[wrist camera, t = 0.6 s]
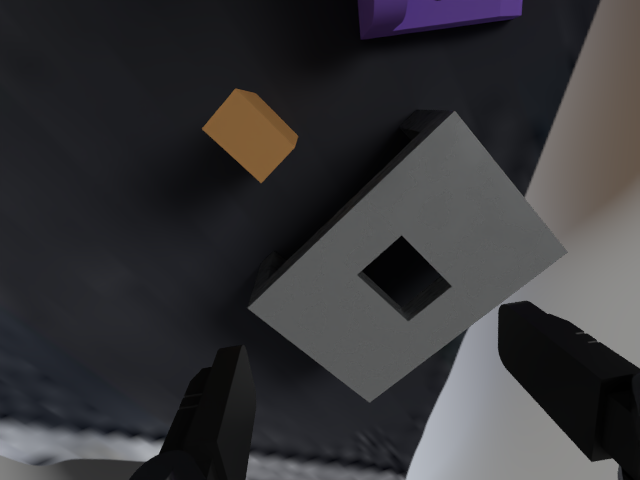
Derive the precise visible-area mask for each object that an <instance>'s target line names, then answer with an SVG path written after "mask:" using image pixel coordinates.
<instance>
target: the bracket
mask: <svg viewBox="0 0 640 480" xmlns="http://www.w3.org/2000/svg"><path fill="white" fill-rule="evenodd" d="M358 11H359V25H360V39H361V40H364V39H371V38H378V37H386V36H393V35H400V34H407V33H415V32H422V31H429V30H437V29H444V28H451V27H459V26H466V25H473V24H481V23H488V22H495V21H503V20H510V19H514V18H516V17H518V16H521V13H522V0H440V1H436V0H358Z"/></svg>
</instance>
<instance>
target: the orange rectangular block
mask: <svg viewBox="0 0 640 480" xmlns="http://www.w3.org/2000/svg"><path fill="white" fill-rule="evenodd" d="M202 129H203V130H204V131H205V132H206V133H207V134H208V135H209V136H210V137H211V138H212V139H213V140H215V141H216V142H217V143H218V144H219V145H220V146H221V147H222V148H223V149H224V150H225V151H227V152H228V153H229V154H230V155H231V156H232V157H233V158H234V159H235V160H236V161H237V162H239V163H240V164H241V165H242V166H243V167H244V168H245V169H246V170H247V171H248V172H249V173H251V174H252V175H253V176H254V177H255V178H256V179H257V180H258V181H259V182H260V183H262V182H263V181H264V180H265V179H266V178H267V176H268V175H269V174H270V173H271V172H272V171H273V170H274V169H275V168H276V167H277V166H278V165H279V164H280V163H281V162H282V160H283V159H284V158H285V157H286V156H287V155H288V154H289V153H290V152H291V151H292V150H293V149H294V148H295V145H296V142H297V139H298V135H297V134H296V133H295V132H294V131H293V130H292V129H291V128H290V127H289V126H288V125H287V124H286V123H285V122H284V121H283V120H282V119H281V118H280V117H279V116H278V115H277V114H276V113H275V112H274V111H273V110H272V109H271V108H270V107H269V106H268V105H267V104H266V103H265V102H264V101H263V100H262V99H261V98H260V97H259V96H258V95H257V94H256V93H252V92H248V91H244V90H240V89H235V90H234V91H233V92H232V94H231V95H230V96H229V97H228V98H227V99H226V101H225V102H224V103H223V104H222V105H221V107H220V108H219V109H218V110H217V111H216V113H215V114H214V115H213V116H212V117H211V119H210V120H209V121H208V122H207V123H206V125H205V126H204V127H203V128H202Z"/></svg>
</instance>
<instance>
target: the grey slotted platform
mask: <svg viewBox="0 0 640 480" xmlns="http://www.w3.org/2000/svg"><path fill="white" fill-rule="evenodd" d="M400 128H401V130H402V131H403V132H404V133H405V134H406V135H407V136H408V138H409V139H410V140H411V142H410V143H409V144H408V145H407V146H406V147H405V148H404V149H403V150H401V151H400V152H399V153H398V154H397V155H396V156H395V157H394V158H393V159H392V160H391V161H390V162H389V163H388V164H387V165H386V166H385V167H384V168H383V169H382V170H381V171H380V172H379V173H378V174H377V175H376V176H374V177H373V178H372V179H371V180H370V181H369V182H368V183H367V184H366V185H365V186H364V187H363V188H362V189H361V190H360V191H359V192H358V193H357V194H356V195H355V196H354V197H353V198H352V199H351V200H350V201H348V202H347V203H346V204H345V205H344V206H343V207H342V208H341V209H340V210H339V211H338V212H337V213H336V214H335V215H334V216H333V217H332V218H331V219H330V220H329V221H328V222H327V223H326V224H325V225H324V226H323V227H321V228H320V229H319V230H318V231H317V232H316V233H315V234H314V235H313V236H312V237H311V238H310V239H309V240H308V241H307V242H306V243H305V244H304V245H303V246H302V247H301V248H300V249H299V250H298V251H297V252H295V253H294V254H293V255H292V256H291V257H290V258H289V259H288V260H287V261H286V260H285V259H284V258H283V257H281V256H280V255H279V254H278V253H277V252H276V251H273V252H272V253H271V254H270V255H269V256H268V257H267V258H266V259H265V260H264V261H263V262H262V263H261V264H260V268H259V271H258V274H257V278H256V281H255V284H254V288H253V291H252V295H251V298H250V301H249V305H248V309H249V310H250V311H252V312H253V313H254V314H256V315H257V316H258V317H259V318H261V319H262V320H263V321H265V322H266V323H267V324H268V325H270V326H271V327H272V328H274V329H275V330H276V331H278V332H279V333H280V334H281V335H283V336H284V337H285V338H287V339H288V340H289V341H290V342H292V343H293V344H294V345H296V346H297V347H298V348H300V349H301V350H302V351H303V352H305V353H306V354H307V355H309V356H310V357H311V358H312V359H314V360H315V361H316V362H318V363H319V364H320V365H322V366H323V367H324V368H325V369H327V370H328V371H329V372H331V373H332V374H333V375H334V376H336V377H337V378H338V379H340V380H341V381H342V382H344V383H345V384H346V385H347V386H349V387H350V388H351V389H353V390H354V391H355V392H356V393H358V394H359V395H360V396H362V397H363V398H364V399H366V400H367V401H368V402H369V403H370V402H371V401H372V400H374V399H375V398H376V397H378V396H379V395H380V394H382V393H383V392H384V391H385V390H387V389H388V388H389V387H391V386H392V385H393V384H395V383H396V382H397V381H399V380H400V379H401V378H403V377H404V376H405V375H407V374H408V373H409V372H411V371H412V370H413V369H414V368H416V367H417V366H418V365H420V364H421V363H422V362H424V361H425V360H426V359H428V358H429V357H430V356H432V355H433V354H434V353H436V352H437V351H438V350H440V349H441V348H442V347H443V346H445V345H446V344H447V343H449V342H450V341H451V340H453V339H454V338H455V337H457V336H458V335H459V334H461V333H462V332H463V331H465V330H466V329H467V328H469V327H470V326H471V325H472V324H474V323H475V322H476V321H478V320H479V319H480V318H482V317H483V316H484V315H486V314H487V313H488V312H490V311H491V310H492V309H493V308H495V307H496V306H498V305H499V304H500V303H501V302H503V301H504V300H505V299H507V298H508V297H509V296H511V295H512V294H513V293H515V292H516V291H517V290H519V289H520V288H521V287H522V286H524V285H525V284H527V283H528V282H529V281H530V280H532V279H533V278H534V277H536V276H537V275H538V274H540V273H541V272H542V271H544V270H545V269H546V268H548V267H549V266H550V265H552V264H553V263H554V262H556V261H557V260H558V259H559V258H561V257H562V256H563V255H565V254H566V253H567V251H566V249H565V248H564V247H563V246H562V244H561V243H560V242H559V241H558V239H557V238H556V237H555V236H554V234H553V233H552V232H551V231H550V229H549V228H548V227H547V226H546V224H545V223H544V222H543V221H542V220H541V218H540V217H539V216H538V214H537V213H536V212H535V211H534V209H533V208H532V207H531V206H530V204H529V203H528V202H527V201H526V199H525V198H524V197H523V196H522V194H521V193H520V192H519V191H518V189H517V188H516V187H515V186H514V184H513V183H512V182H511V181H510V179H509V178H508V177H507V176H506V174H505V173H504V172H503V171H502V169H501V168H500V167H499V166H498V164H497V163H496V162H495V161H494V159H493V158H492V157H491V156H490V154H489V153H488V152H487V151H486V149H485V148H484V147H483V146H482V144H481V143H480V142H479V141H478V139H477V138H476V137H475V136H474V134H473V133H472V132H471V131H470V129H469V128H468V127H467V126H466V124H465V123H464V122H463V121H462V119H461V118H460V117H459V116H458V114H457V113H456V112H455V111H446V110H416V111H415V112H414V113H413V114H412V115H411V116H410V117H409V118H408V119H407V120H406V121H405V122H404V123H403V124H402V125H401V126H400ZM401 235H402V236H403V237H404V238H405V239H406V240H407V241H408V242H409V243H410V244H411V245H412V246H413V247H414V248H415V249H416V250H417V251H418V252H419V253H420V254H421V255H422V256H423V257H424V258H425V259H426V260H427V261H428V262H429V263H430V264H431V265H432V266H433V267H434V268H435V269H436V270H437V271H438V272H439V273H440V274H441V276H440V277H439V278H438V279H436V280H435V281H434V282H433V283H432V284H430V285H429V286H428V287H427V288H426V289H424V290H423V291H422V292H421V293H419V294H418V295H417V296H416V297H415V298H413V299H412V300H411V301H410V302H408V303H407V304H406V305H405V306H404V307H402V308H401V307H400V306H399V305H398V304H397V303H396V302H395V301H394V300H393V299H392V298H391V297H389V296H388V295H387V294H386V293H385V292H384V291H383V290H382V289H381V288H380V287H379V286H377V285H376V284H375V283H374V282H373V281H372V280H371V279H370V278H369V277H368V276H367V275H366V274H364V273H363V272H362V270H363V269H364V268H365V267H366V266H368V265H369V264H370V263H371V262H372V261H373V260H374V259H375V258H377V257H378V256H379V255H380V254H381V253H382V252H383V251H384V250H386V249H387V248H388V247H389V246H390V245H391V244H392V243H393V242H395V241H396V240H397V239H398V238H399V237H400V236H401Z"/></svg>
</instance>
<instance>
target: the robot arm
mask: <svg viewBox="0 0 640 480" xmlns="http://www.w3.org/2000/svg"><path fill="white" fill-rule="evenodd" d="M498 314H499V316H498V351H499V356H500V359H501V361H502V363H503V365H504V366H505V368H506V369H507V370H508V371H509V372H510V373H511V374H512V376H513V377H514V378H515V379H516V380H517V381H518V382H519V383H520V384H521V385H522V387H523V388H524V389H525V390H526V391H527V392H528V393H529V394H530V395H531V396H532V397H533V399H534V400H535V401H536V402H537V403H538V404H539V405H540V406H541V407H542V408H543V409H544V411H545V412H546V413H547V414H548V415H549V416H550V417H551V418H552V419H553V420H554V421H555V423H556V424H557V425H558V426H559V427H560V428H561V429H562V430H563V431H564V432H565V433H566V434H567V436H568V437H569V438H570V439H571V440H572V441H573V442H574V443H575V444H576V445H577V447H578V448H579V449H580V450H581V451H582V452H583V453H584V454H585V455H586V456H587V457H588V458H589V460H590V461H591V462H594V461H599V460H605V459H611V458H613V459H614V460H615V461H616V462H617V463H618V464H619V468H618V480H640V368H638V367H637V366H635V365H634V364H632V363H631V362H629V361H628V360H626V359H625V358H623V357H622V356H620V355H619V354H617V353H615V352H614V351H613V350H611V349H610V348H608V347H607V346H605V345H604V344H602V343H601V342H597V340H596V339H595V338H593V337H592V336H590V335H589V334H585V333H584V331H583V330H581V329H580V328H578V327H577V326H575V325H574V324H572V323H571V322H569V321H567V320H564V319H561V318H559V317H556V316H554V315H551V314H547V313H545V312H544V311H542V310H541V309H539V308H538V307H537V306H535V305H534V304H532V303H531V302H529V301H521V302H515V303H508V304H503V305H501V306H500V308H499V313H498ZM179 408H180V409H179V410H178V411H177V413H176V416H175V418H174V420H173V423H172V425H171V427H170V430H169V432H168V434H167V437H166V439H165V441H164V444H163V446H162V448H161V450H160V453H159V455H157V456H155V457H153V458H151V459H150V460H148V461H147V462H145V463H144V464H143V465H142V466H141V467H139V468H138V469H137V471H136V472H135V473H134V474H133V475H132V476H131V478H130V479H129V480H245V479H246V472H247V465H248V459H249V452H250V445H251V438H252V431H253V425H254V418H255V411H256V392H255V385H254V381H253V377H252V372H251V368H250V364H249V359H248V355H247V351H246V348H245V346H244V345H240V346H233V347H227V348H221V349H219V350H218V352H217V354H216V357H215V360H214V363H213V365H212V367H208V368H202V370H201V371H200V372H199V373H198V374H197V375H196V376H195V377H194V378H193V379H192V380H191V381H190V383H189V386H188V388H187V390H186V393H185V398H183V400H182V402H181V404H180V407H179Z"/></svg>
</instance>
